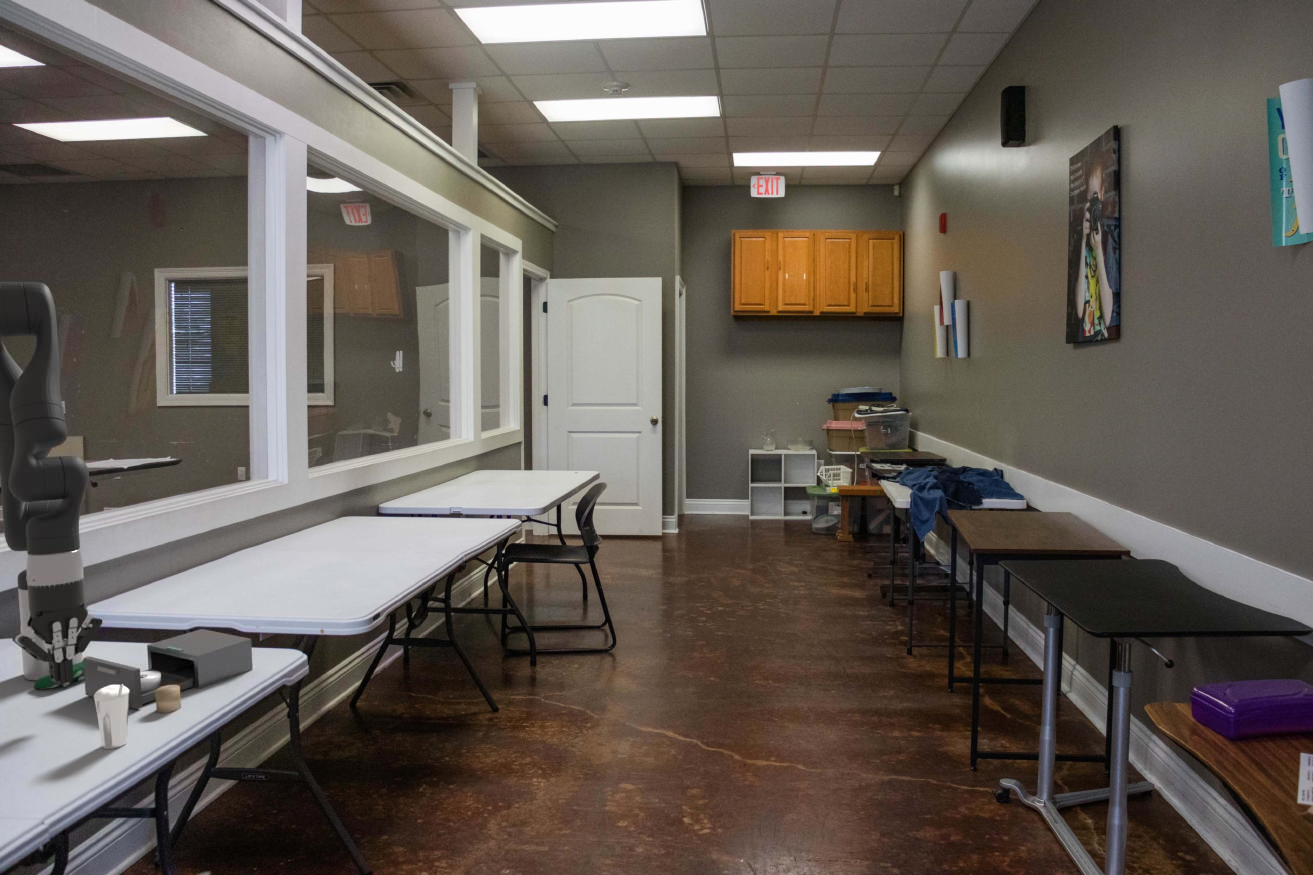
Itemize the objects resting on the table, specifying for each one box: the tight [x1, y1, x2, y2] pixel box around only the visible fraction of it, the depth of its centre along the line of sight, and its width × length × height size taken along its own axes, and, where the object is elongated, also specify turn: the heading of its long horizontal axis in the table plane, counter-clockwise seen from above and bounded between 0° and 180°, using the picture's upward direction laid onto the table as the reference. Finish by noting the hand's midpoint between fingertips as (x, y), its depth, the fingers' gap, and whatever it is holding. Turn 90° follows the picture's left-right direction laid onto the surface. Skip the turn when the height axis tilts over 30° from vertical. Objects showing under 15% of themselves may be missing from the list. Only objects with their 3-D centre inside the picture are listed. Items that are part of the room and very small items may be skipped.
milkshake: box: [93, 684, 129, 750], centre depth 129 cm, size 4×5×10 cm
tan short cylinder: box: [155, 685, 182, 714], centre depth 143 cm, size 4×4×4 cm
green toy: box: [33, 655, 89, 690], centre depth 156 cm, size 9×4×6 cm
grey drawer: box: [83, 655, 194, 710], centre depth 150 cm, size 11×15×7 cm
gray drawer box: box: [146, 628, 253, 689], centre depth 160 cm, size 11×15×6 cm
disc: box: [140, 670, 161, 693], centre depth 151 cm, size 6×6×2 cm
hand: (62, 682), depth 139 cm, fingers closed
